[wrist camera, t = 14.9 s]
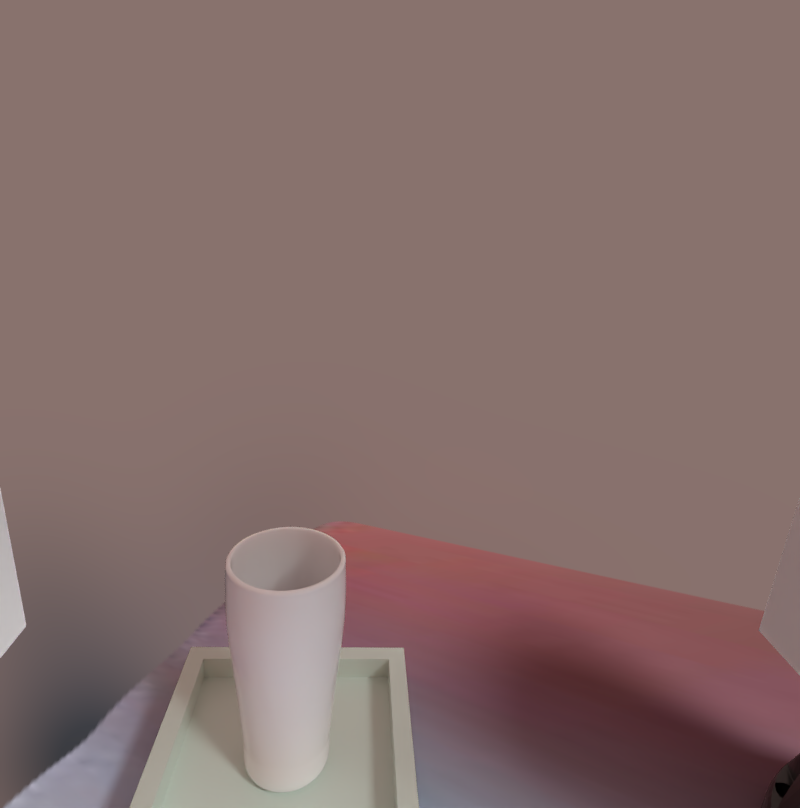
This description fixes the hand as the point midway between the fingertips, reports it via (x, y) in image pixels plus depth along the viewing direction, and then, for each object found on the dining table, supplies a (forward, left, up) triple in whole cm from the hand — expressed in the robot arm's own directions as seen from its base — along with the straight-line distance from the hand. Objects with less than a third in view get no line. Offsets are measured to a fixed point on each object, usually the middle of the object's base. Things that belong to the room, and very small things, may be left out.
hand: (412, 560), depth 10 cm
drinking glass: (+5, -20, -28) cm, 35 cm away
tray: (+5, -20, -29) cm, 36 cm away
